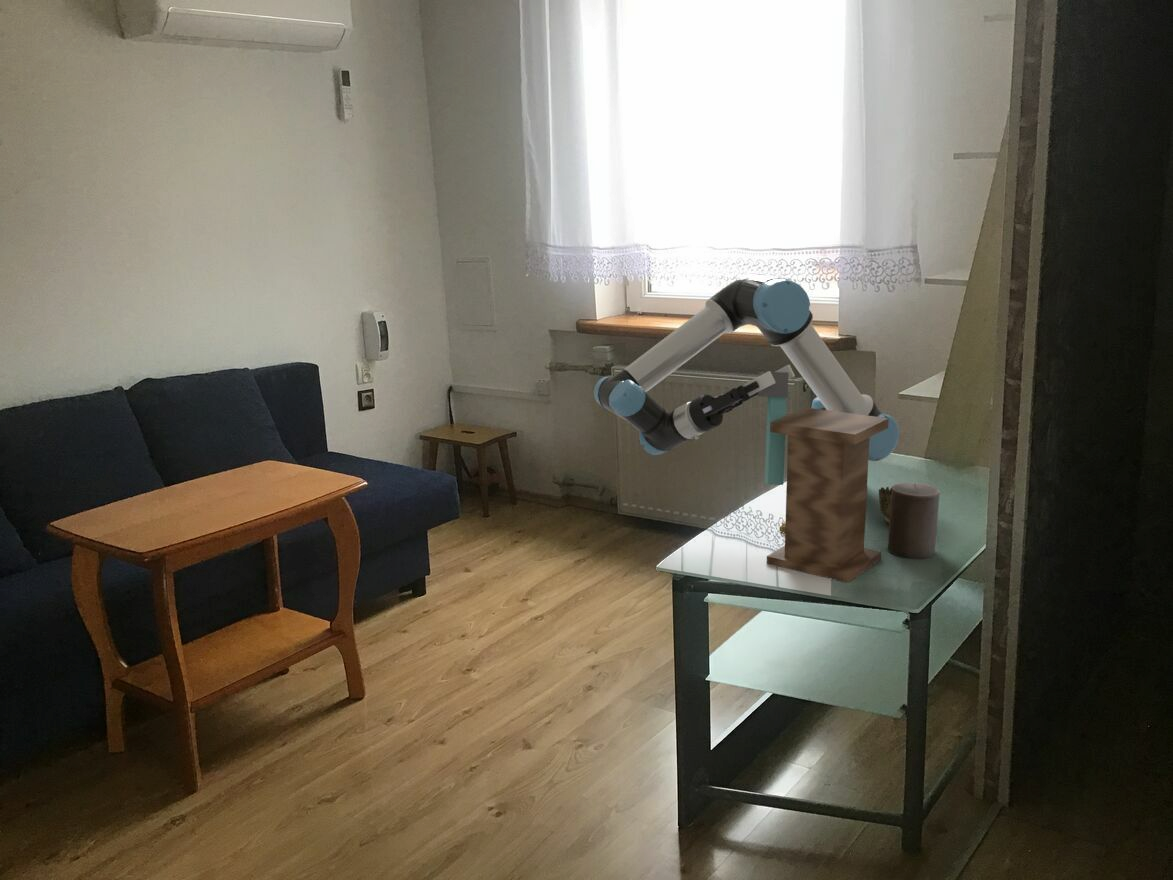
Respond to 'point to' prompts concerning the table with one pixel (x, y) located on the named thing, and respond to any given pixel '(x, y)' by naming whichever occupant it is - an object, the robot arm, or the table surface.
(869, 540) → the table surface
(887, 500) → the cup
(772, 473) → the hammer
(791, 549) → the shelf stand
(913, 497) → the pillar candle
